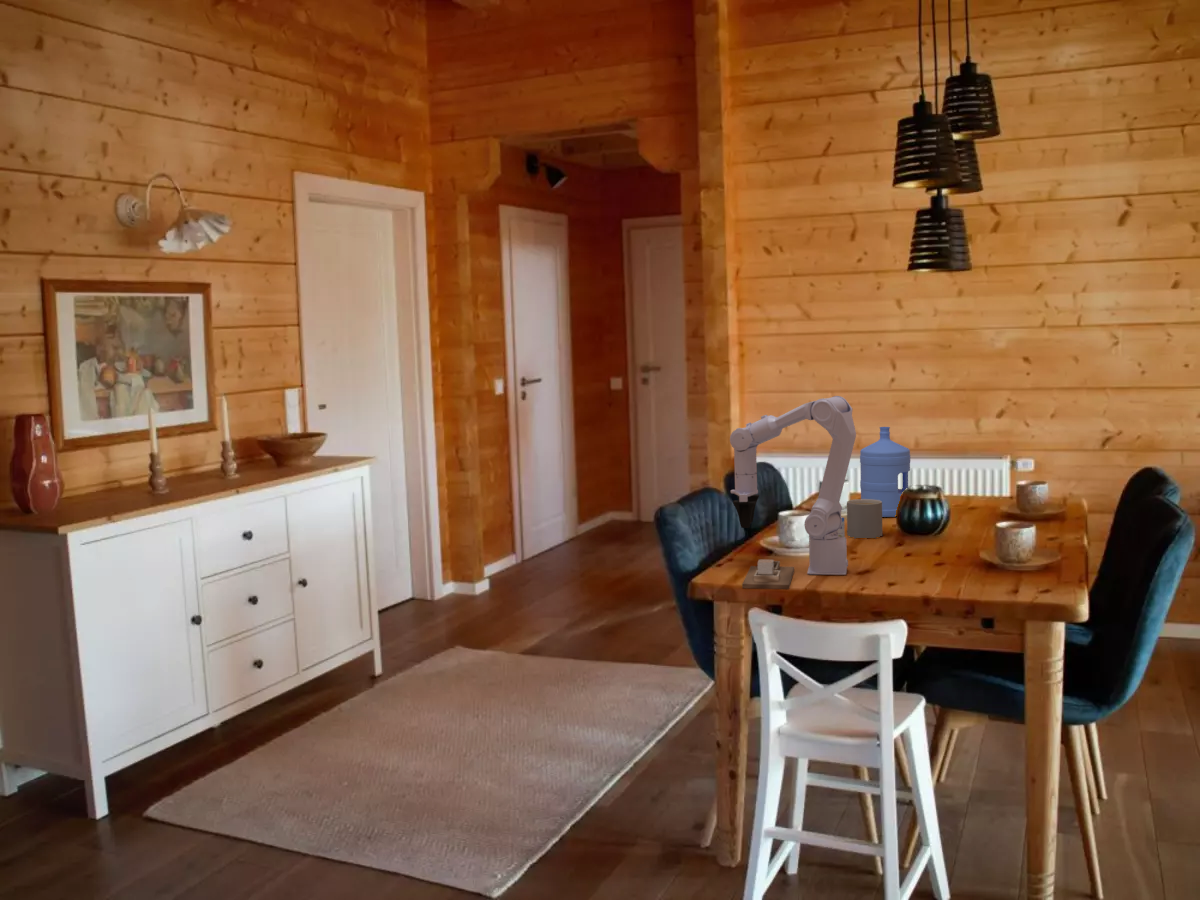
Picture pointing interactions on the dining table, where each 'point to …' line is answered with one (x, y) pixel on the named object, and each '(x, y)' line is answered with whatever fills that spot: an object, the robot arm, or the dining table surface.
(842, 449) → the robot arm
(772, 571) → the square peg
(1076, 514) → the dining table surface
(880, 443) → the water jug
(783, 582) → the socket board
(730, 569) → the dining table surface
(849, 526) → the coffee mug
